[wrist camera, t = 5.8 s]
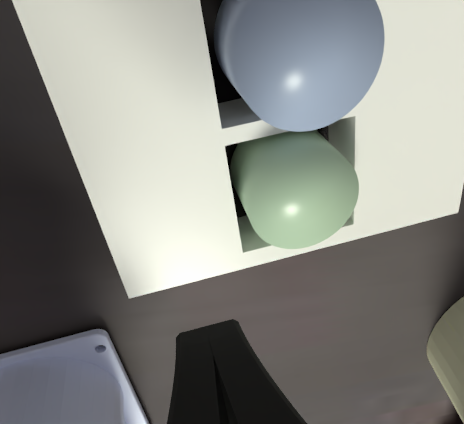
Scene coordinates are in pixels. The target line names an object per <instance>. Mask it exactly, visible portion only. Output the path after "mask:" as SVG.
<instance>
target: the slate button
mask: <svg viewBox="0 0 464 424" xmlns="http://www.w3.org/2000/svg"><path fill="white" fill-rule="evenodd" d="M384 42H385V36H384V24H383V19H382V15H381V12H380V9H379V7H378V4H377V2H376V0H223V1H222V3H221V5H220V7H219V10H218V13H217V16H216V20H215V26H214V49H215V53H216V57H217V60H218V63H219V65H220V67H221V69H222V71H223V73H224V74H225V76H226V77H227V78H228V80H229V81H230V82H231V84H232V85H233V86H234V88H235V89H236V90H237V92H238V93H239V94H240V95H241V97H242V98H243V99H244V101H245V102H246V103H247V105H248V106H249V107H250V108H251V110H252V111H253V112H254V113H255V114H256V115H257V116H258V117H259V118H261V119H262V120H263V121H265V122H266V123H268V124H270V125H272V126H274V127H276V128H279V129H282V130H287V131H294V132H304V131H311V130H316V129H320V128H323V127H325V126H328V125H330V124H332V123H334V122H336V121H338V120H339V119H341V118H342V117H344V116H345V115H346V114H348V113H349V112H350V111H351V110H352V109H353V108H355V107H356V105H357V104H358V103H359V102H360V101H361V100H362V99H363V97H364V96H365V95H366V93H367V92H368V91H369V89H370V87H371V85H372V84H373V82H374V80H375V78H376V75H377V73H378V71H379V68H380V65H381V61H382V57H383V52H384Z"/></svg>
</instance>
